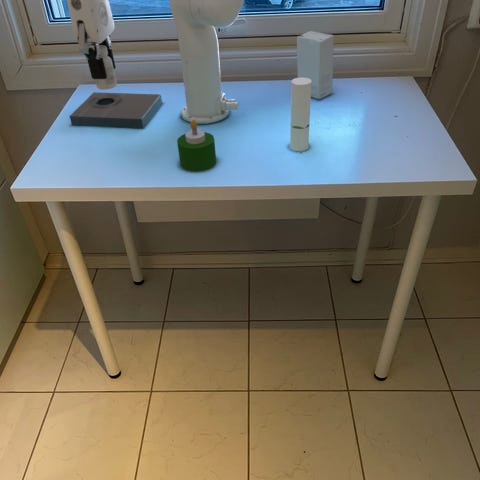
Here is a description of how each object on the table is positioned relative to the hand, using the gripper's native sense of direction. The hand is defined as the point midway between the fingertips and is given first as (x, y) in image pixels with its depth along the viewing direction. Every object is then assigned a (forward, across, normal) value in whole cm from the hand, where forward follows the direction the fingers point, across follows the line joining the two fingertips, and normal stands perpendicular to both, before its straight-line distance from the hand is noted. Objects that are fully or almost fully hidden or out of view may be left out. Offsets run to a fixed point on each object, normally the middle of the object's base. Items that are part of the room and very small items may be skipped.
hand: (104, 72), depth 111 cm
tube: (+20, +7, -41) cm, 46 cm away
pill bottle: (+3, 0, 0) cm, 3 cm away
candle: (+19, -2, -19) cm, 27 cm away
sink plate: (+19, +23, +10) cm, 31 cm away
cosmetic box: (+20, +39, -42) cm, 61 cm away
